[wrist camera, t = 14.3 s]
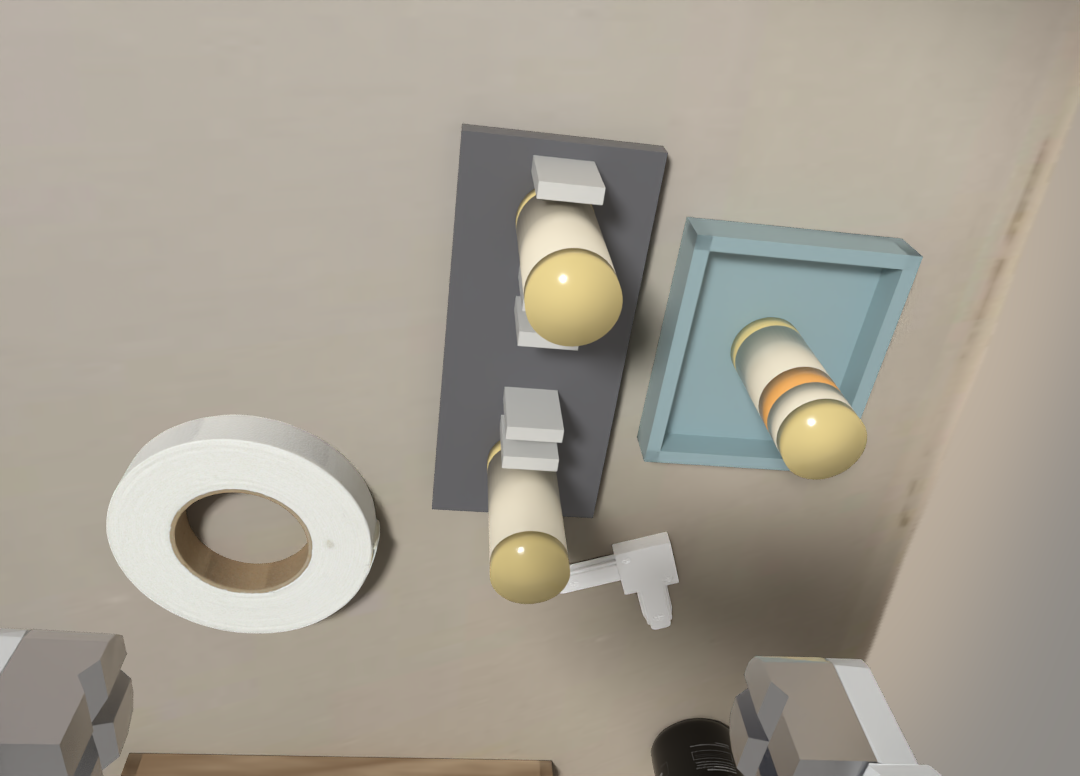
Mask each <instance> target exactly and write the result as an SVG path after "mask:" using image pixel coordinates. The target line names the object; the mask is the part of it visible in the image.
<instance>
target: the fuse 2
mask: <svg viewBox="0 0 1080 776" xmlns="http://www.w3.org/2000/svg"><path fill="white" fill-rule="evenodd" d="M487 480H488V518H489V556H490V580H491V584H492V586H493V588H494V589H495V591H496V592H497V593H498V594H499V595H501V596H502V597H503V598H505V599H507V600H509V601H512V602H515V603H521V604H534V603H540V602H544V601H547V600H549V599H551V598H553V597H555V596H556V595H558V594H559V593H560V592H561V591H562V590H563V589H564V588H565V587H566V585H567V583H568V581H569V578H570V566H569V559H568V552H567V545H566V537H565V530H564V523H563V516H562V509H561V502H560V495H559V488H558V481H557V474H556V471H541V470H525V469H508V468H502V461H501V441H500V440H499V441H498V442H497V443H496V444H495V445H494V446H493V447H492V448H491V450H490V452H489V454H488V458H487Z"/></svg>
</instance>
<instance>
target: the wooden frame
mask: <svg viewBox="0 0 1080 776" xmlns="http://www.w3.org/2000/svg"><path fill="white" fill-rule="evenodd" d="M121 776H553V772H552V761H537V760H481V759H425V758H369V757H313V756H257V755H201V754H145V753H129V755H128V758H127V761H126V763H125V766H124V768H123V771H122V773H121Z"/></svg>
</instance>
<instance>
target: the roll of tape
mask: <svg viewBox="0 0 1080 776" xmlns="http://www.w3.org/2000/svg"><path fill="white" fill-rule="evenodd" d="M230 492H234V493H246V494H252V495H256V496H260V497H263V498H266V499H268V500H271V501H273V502H275V503H277V504H279V505H280V506H282V507H283V508H284V509H286V510H287V511H289V512H290V513H291V514H292V515H293V516H294V517H295V518H296V519H297V520H298V521H299V523H300V524H301V526H302V527H303V529H304V531H305V534H306V537H307V542H308V543H307V544H306V545H305V546H304V547H303V548H302V549H301V550H300V551H299V552H297V553H296V554H294V555H292V556H290V557H288V558H286V559H284V560H281V561H277V562H273V563H265V564H251V563H243V562H238V561H235V560H231V559H228V558H226V557H223V556H221V555H219V554H217V553H215V552H214V551H212V550H211V549H209V548H208V547H207V546H205V545H204V544H203V543H202V542H201V541H200V540H199V539H198V538H197V537H196V535H195V534H194V532H193V531H192V529H191V527H190V525H189V523H188V519H187V514H186V509H187V508H188V507H189V506H190V505H191V504H193V503H194V502H196V501H197V500H200V499H202V498H204V497H207V496H210V495H214V494H220V493H230ZM106 529H107V537H108V541H109V545H110V548H111V550H112V553H113V555H114V557H115V559H116V561H117V563H118V565H119V566H120V568H121V569H122V571H123V572H124V574H125V575H126V576H127V578H128V579H129V580H130V581H131V582H132V583H133V584H134V585H135V586H136V587H137V588H138V589H139V590H140V591H141V592H142V593H143V594H144V595H146V596H147V597H148V598H149V599H151V600H152V601H154V602H155V603H157V604H158V605H160V606H161V607H163V608H164V609H166V610H168V611H170V612H172V613H174V614H176V615H178V616H180V617H182V618H185V619H187V620H189V621H192V622H195V623H197V624H201V625H204V626H207V627H211V628H215V629H219V630H225V631H231V632H239V633H276V632H284V631H290V630H295V629H299V628H303V627H306V626H309V625H311V624H314V623H316V622H319V621H321V620H323V619H325V618H327V617H328V616H330V615H332V614H333V613H335V612H336V611H338V610H339V609H340V608H342V607H343V606H345V605H346V604H347V603H348V602H349V601H350V600H351V599H352V598H353V597H354V596H355V595H356V593H357V592H358V591H359V589H360V588H361V586H362V584H363V583H364V581H365V579H366V577H367V575H368V574H369V572H370V569H371V566H372V563H373V561H374V558H375V554H376V551H377V547H378V543H379V538H380V522H379V520H377V519H376V514H375V507H374V502H373V499H372V496H371V494H370V491H369V489H368V487H367V485H366V483H365V481H364V479H363V478H362V476H361V475H360V474H359V472H358V471H357V470H356V468H355V467H354V466H353V465H352V464H351V463H350V461H349V460H348V459H347V458H345V457H344V456H343V455H342V454H341V453H340V452H339V451H338V450H336V449H335V448H334V447H332V446H331V445H330V444H328V443H327V442H325V441H324V440H322V439H320V438H319V437H317V436H316V435H314V434H312V433H310V432H307V431H305V430H303V429H301V428H298V427H296V426H293V425H291V424H288V423H285V422H282V421H278V420H274V419H269V418H264V417H258V416H250V415H219V416H212V417H205V418H200V419H195V420H191V421H188V422H185V423H182V424H180V425H177V426H175V427H173V428H170V429H168V430H166V431H164V432H162V433H161V434H159V435H158V436H156V437H155V438H153V439H152V440H151V441H150V442H148V443H147V444H146V445H145V446H144V447H143V448H142V449H141V450H140V451H139V452H138V454H137V455H136V456H135V457H134V459H133V461H132V462H131V464H130V465H129V467H128V469H127V470H126V472H125V474H124V476H123V477H122V479H121V481H120V483H119V484H118V486H117V488H116V490H115V491H114V493H113V496H112V498H111V501H110V503H109V507H108V512H107V521H106Z"/></svg>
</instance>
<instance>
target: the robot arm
mask: <svg viewBox="0 0 1080 776" xmlns="http://www.w3.org/2000/svg"><path fill="white" fill-rule="evenodd" d="M126 655H127V652H126V648H125V644H124V639H123V636H122V635H118V634H108V633H91V632H75V631H59V630H42V629H17V628H0V776H103V773H102V770H103V769H104V768H106V767H107V766H108V765H109V764H111V763H112V762H113V761H114V760H115V759H117V758H118V757H119V756H120V754H121V751H122V748H123V746H124V743H125V740H126V738H127V735H128V731H129V726H130V721H131V717H132V712H133V687H132V680H131V678H130V677H129V676H127V675H126V674H125V673H124V672H123V671H122V670H120V669H121V667H122V664H123V662H124V660H125V657H126ZM744 676H745V679H746V682H747V685H748V688H747V689H746V690H744V691H743V692H742V693H740V694H739V695H737V696H736V697H735V701H734V704H733V707H732V710H731V713H730V732H729V734H730V741H731V748H732V753H733V757H734V760H735V764H736V767H737V769H738V770H739V771H740V772H741V773H742V774H743V775H744V776H942V775H941V774H940V773H939V772H937V771H936V770H935V769H933V768H932V767H931V766H930V765H925V764H918V762H917V760H916V758H915V756H914V754H913V752H912V750H911V748H910V746H909V744H908V742H907V740H906V738H905V736H904V735H903V733H902V731H901V729H900V727H899V725H898V723H897V721H896V719H895V717H894V715H893V713H892V711H891V709H890V707H889V705H888V703H887V701H886V699H885V697H884V695H883V694H882V691H881V689H880V687H879V685H878V683H877V682H876V680H875V678H874V676H873V674H872V672H871V670H870V668H869V666H868V665H867V664H866V663H865V662H864V661H863V660H862V659H839V658H825V659H823V658H821V657H781V656H755V657H754V658H752V659H751V660H750V661H749V663H748V665H747V668H746V671H745V673H744Z"/></svg>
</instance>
